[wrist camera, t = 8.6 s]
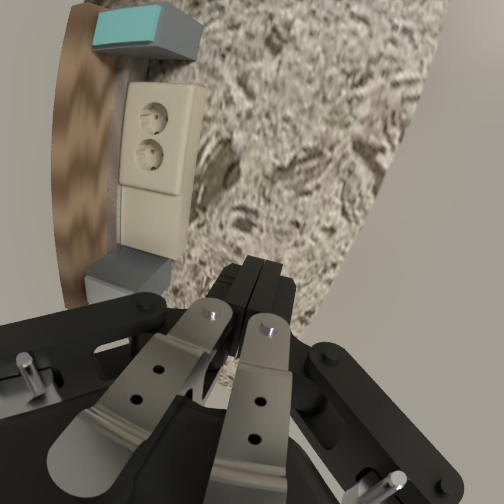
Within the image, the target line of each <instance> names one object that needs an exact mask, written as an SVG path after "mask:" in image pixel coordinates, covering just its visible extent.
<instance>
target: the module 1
mask: <svg viewBox="0 0 504 504" xmlns="http://www.w3.org/2000/svg"><path fill="white" fill-rule="evenodd" d="M202 29H203V25H201V24H200V23H198V22H197V21H196V20H194V19H193V18H191V17H190V16H188V15H187V14H185V13H184V12H182V11H181V10H179V9H178V8H176V7H175V6H173V5H172V4H170V3H168V2H165V3H154V4H144V5H136V6H128V7H122V8H115V9H110V10H104V11H100V13H99V17H98V21H97V25H96V29H95V34H94V39H93V43H92V51H96V52H101V53H107V54H112V55H117V56H129V55H132V56H136V57H141V58H145V59H148V60H191V61H196V58H197V53H198V48H199V43H200V39H201V34H202Z"/></svg>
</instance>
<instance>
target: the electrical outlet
mask: <svg viewBox="0 0 504 504" xmlns="http://www.w3.org/2000/svg"><path fill="white" fill-rule="evenodd" d="M206 95H207V88H205V87H201V86H197V85H192V84H180V83H163V82H130V83H129V85H128V90H127V97H126V105H125V113H124V122H123V131H122V142H121V155H120V170H119V183H120V184H122V197H121V244H122V245H125V246H129V247H132V248H136V249H139V250H142V251H146V252H149V253H153V254H156V255H160V256H163V257H167V258H170V259H174V260H177V259H178V258H179V257H180V256H181V255H182V254H183V253H184V252H185V251H186V245H187V235H188V225H189V215H190V206H191V198H192V189H193V182H194V174H195V166H196V159H197V152H198V145H199V138H200V132H201V125H202V119H203V113H204V107H205V101H206Z"/></svg>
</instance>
